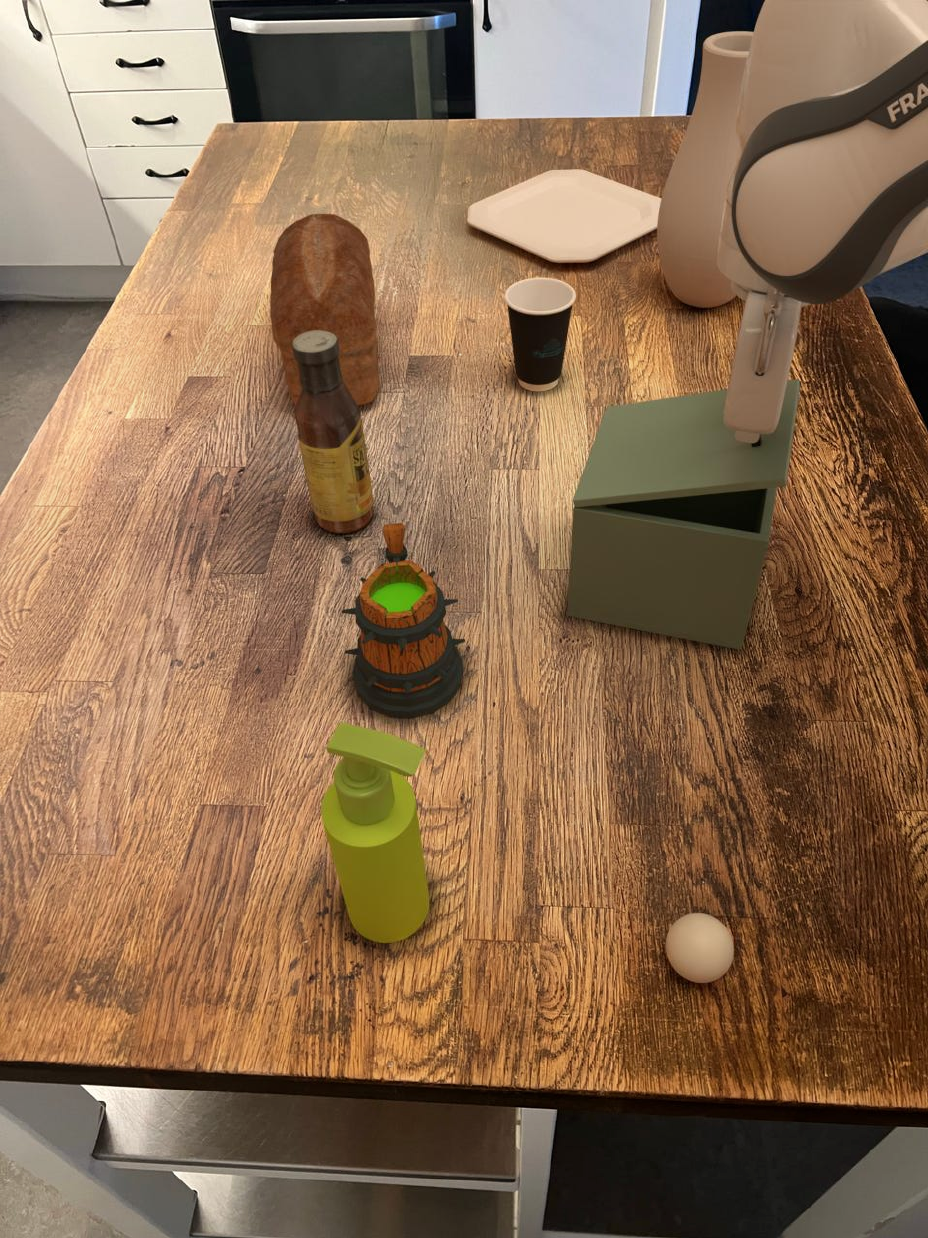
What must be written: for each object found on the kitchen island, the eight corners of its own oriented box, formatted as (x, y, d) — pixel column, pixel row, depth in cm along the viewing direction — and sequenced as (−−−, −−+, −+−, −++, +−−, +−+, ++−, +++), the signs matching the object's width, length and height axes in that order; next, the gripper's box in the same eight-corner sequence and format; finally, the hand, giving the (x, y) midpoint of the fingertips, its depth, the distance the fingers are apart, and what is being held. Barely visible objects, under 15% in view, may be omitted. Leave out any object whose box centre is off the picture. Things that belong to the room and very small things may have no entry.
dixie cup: (550, 406, 111) (553, 319, 103) (492, 387, 114) (490, 301, 106) (583, 373, 115) (588, 287, 107) (526, 355, 118) (527, 270, 110)
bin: (757, 548, 93) (784, 440, 84) (741, 650, 84) (769, 541, 75) (598, 521, 97) (607, 414, 87) (567, 616, 88) (573, 508, 78)
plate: (565, 176, 154) (565, 161, 153) (688, 222, 141) (690, 207, 140) (450, 227, 143) (449, 212, 142) (572, 282, 130) (573, 266, 129)
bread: (284, 426, 110) (259, 311, 100) (287, 305, 129) (267, 197, 119) (388, 415, 111) (375, 300, 100) (376, 296, 130) (363, 189, 119)
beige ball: (731, 941, 66) (742, 911, 63) (723, 1002, 63) (734, 974, 60) (667, 923, 67) (675, 893, 64) (657, 983, 64) (664, 955, 61)
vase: (768, 284, 128) (821, 29, 106) (738, 333, 120) (788, 68, 98) (669, 264, 133) (700, 16, 111) (634, 311, 124) (659, 53, 103)
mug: (472, 714, 80) (467, 620, 72) (350, 726, 80) (331, 633, 72) (458, 604, 89) (452, 508, 81) (349, 614, 89) (331, 520, 81)
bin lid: (800, 386, 80) (792, 334, 77) (786, 486, 71) (776, 432, 68) (608, 413, 87) (594, 367, 84) (574, 508, 78) (557, 460, 75)
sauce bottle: (378, 532, 97) (354, 357, 82) (316, 540, 96) (281, 366, 82) (372, 491, 101) (348, 319, 87) (312, 499, 101) (278, 328, 86)
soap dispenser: (424, 959, 66) (398, 799, 52) (334, 928, 68) (284, 765, 53) (454, 885, 70) (438, 717, 55) (368, 857, 72) (330, 687, 57)
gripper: (825, 323, 58) (781, 502, 68) (841, 184, 71) (802, 351, 81) (718, 311, 59) (690, 488, 69) (753, 177, 72) (726, 342, 82)
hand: (751, 413), depth 75 cm, fingers closed on bin lid, 5 cm apart
